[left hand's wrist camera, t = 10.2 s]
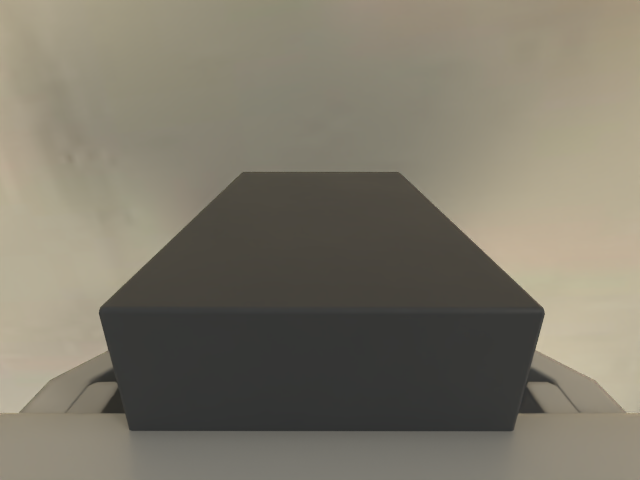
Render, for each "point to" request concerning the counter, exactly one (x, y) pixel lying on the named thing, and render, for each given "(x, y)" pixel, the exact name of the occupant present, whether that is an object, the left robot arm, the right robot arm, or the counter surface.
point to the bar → (321, 316)
